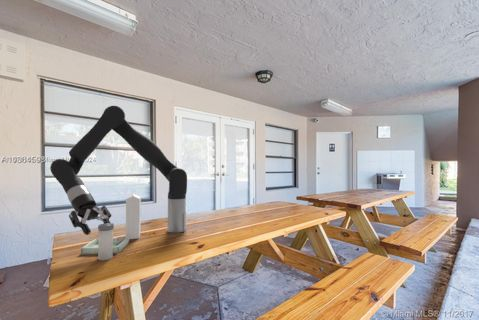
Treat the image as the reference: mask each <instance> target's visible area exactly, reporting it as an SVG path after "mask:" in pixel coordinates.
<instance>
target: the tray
mask: <svg viewBox="0 0 479 320" xmlns="http://www.w3.org/2000/svg"><path fill="white" fill-rule="evenodd" d="M117 238H118V237H113V255H117V254H119V253H120V252H122V250H124V248H126V247H127V246H128V245H129V244H130V239H129V238H126V237H121V238H122V239H123V241H122V242H121V243H120V244H119V245H117V244H116V243H115V240H116V239H117ZM98 248H99V237H98V238H95V239H93V240H92V241H90V242H88V243H87V244H85V245H84V246H81V248H80V256H81V255H82V256H83V255H98Z"/></svg>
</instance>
